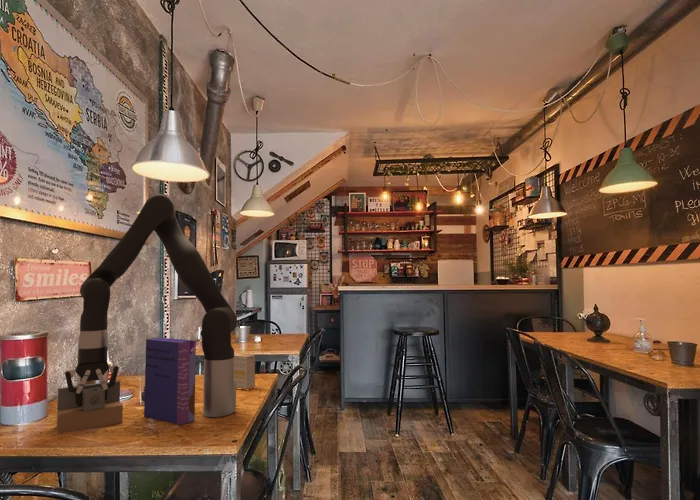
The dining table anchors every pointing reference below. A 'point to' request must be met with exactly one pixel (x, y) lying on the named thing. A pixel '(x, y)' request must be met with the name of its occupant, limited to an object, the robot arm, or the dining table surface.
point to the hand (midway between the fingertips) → (91, 403)
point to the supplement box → (244, 371)
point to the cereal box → (170, 380)
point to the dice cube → (93, 398)
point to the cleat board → (79, 419)
